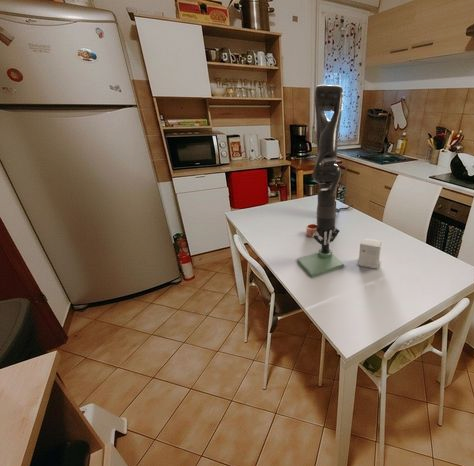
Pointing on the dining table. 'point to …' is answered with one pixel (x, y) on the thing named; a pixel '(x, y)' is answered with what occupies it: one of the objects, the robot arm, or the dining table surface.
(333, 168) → the robot arm
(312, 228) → the bowl
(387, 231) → the dining table surface
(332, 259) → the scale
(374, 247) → the small box
